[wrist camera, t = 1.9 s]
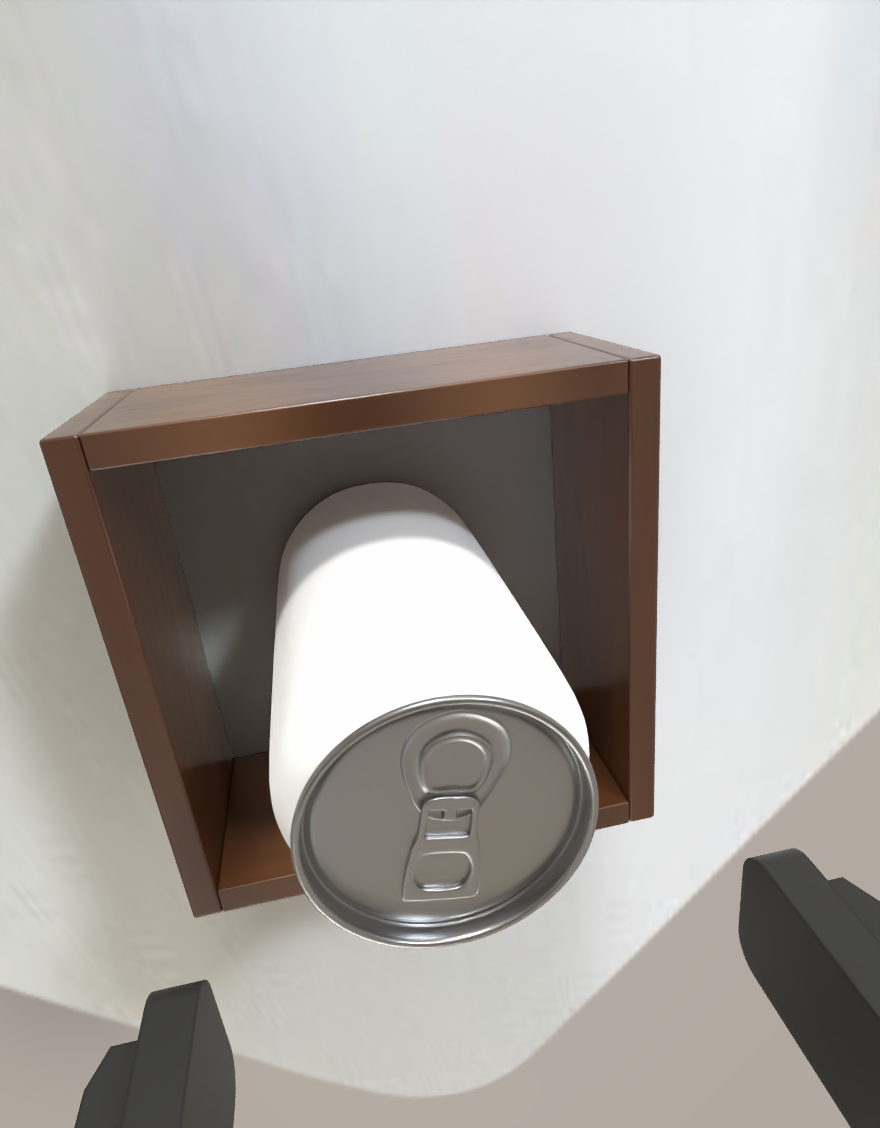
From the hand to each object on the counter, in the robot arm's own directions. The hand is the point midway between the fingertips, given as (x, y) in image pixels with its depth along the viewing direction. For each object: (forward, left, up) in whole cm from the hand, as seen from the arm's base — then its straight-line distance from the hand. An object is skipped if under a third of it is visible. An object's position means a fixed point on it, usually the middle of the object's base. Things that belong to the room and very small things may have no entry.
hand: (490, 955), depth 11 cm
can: (0, 0, -15) cm, 15 cm away
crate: (0, 0, -15) cm, 15 cm away
